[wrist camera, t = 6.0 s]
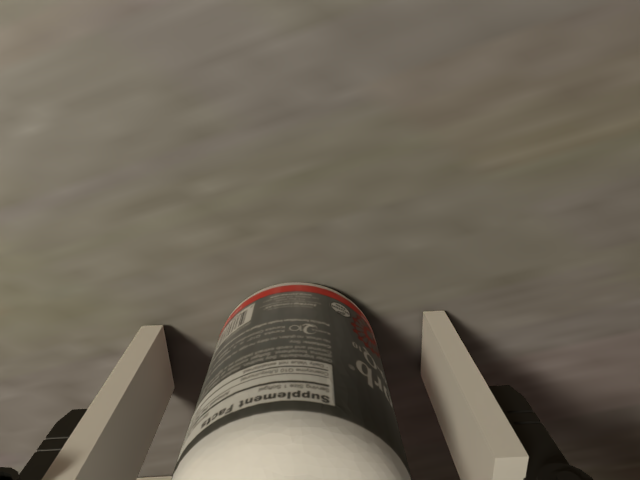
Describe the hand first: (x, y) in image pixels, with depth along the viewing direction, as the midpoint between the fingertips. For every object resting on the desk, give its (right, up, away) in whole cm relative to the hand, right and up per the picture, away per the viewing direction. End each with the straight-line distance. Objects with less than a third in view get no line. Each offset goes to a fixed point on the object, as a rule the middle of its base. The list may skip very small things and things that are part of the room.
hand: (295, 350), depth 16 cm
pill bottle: (0, 0, 0) cm, 0 cm away
